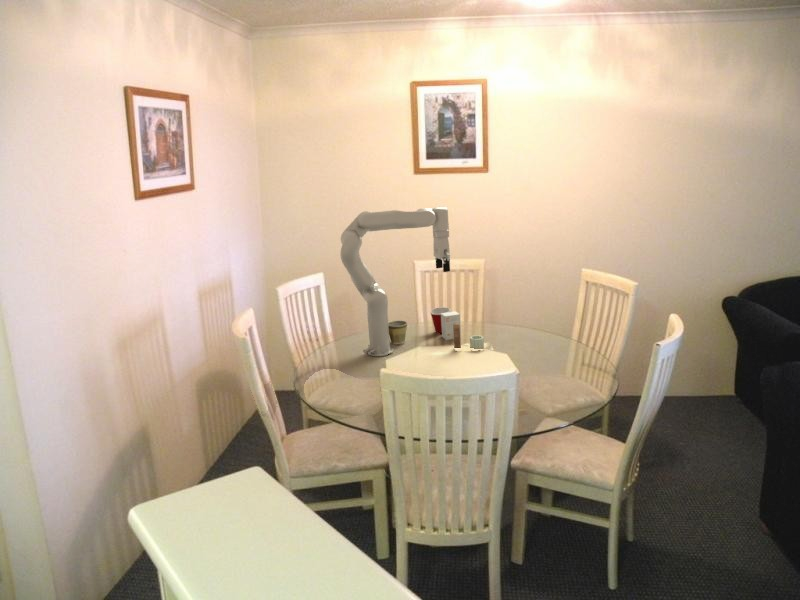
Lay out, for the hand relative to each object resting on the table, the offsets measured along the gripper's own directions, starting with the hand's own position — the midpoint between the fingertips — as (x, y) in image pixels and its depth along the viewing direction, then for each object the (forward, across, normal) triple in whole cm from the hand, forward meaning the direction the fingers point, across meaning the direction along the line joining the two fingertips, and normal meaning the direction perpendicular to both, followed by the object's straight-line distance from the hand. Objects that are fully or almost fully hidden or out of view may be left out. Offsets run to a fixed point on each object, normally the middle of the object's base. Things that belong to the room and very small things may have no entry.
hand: (443, 269), depth 306 cm
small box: (+37, -6, +4) cm, 37 cm away
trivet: (+37, +14, +8) cm, 40 cm away
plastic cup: (+37, -18, +4) cm, 41 cm away
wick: (+36, +12, 0) cm, 38 cm away
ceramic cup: (+37, -13, -21) cm, 44 cm away
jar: (+36, +15, +9) cm, 40 cm away
